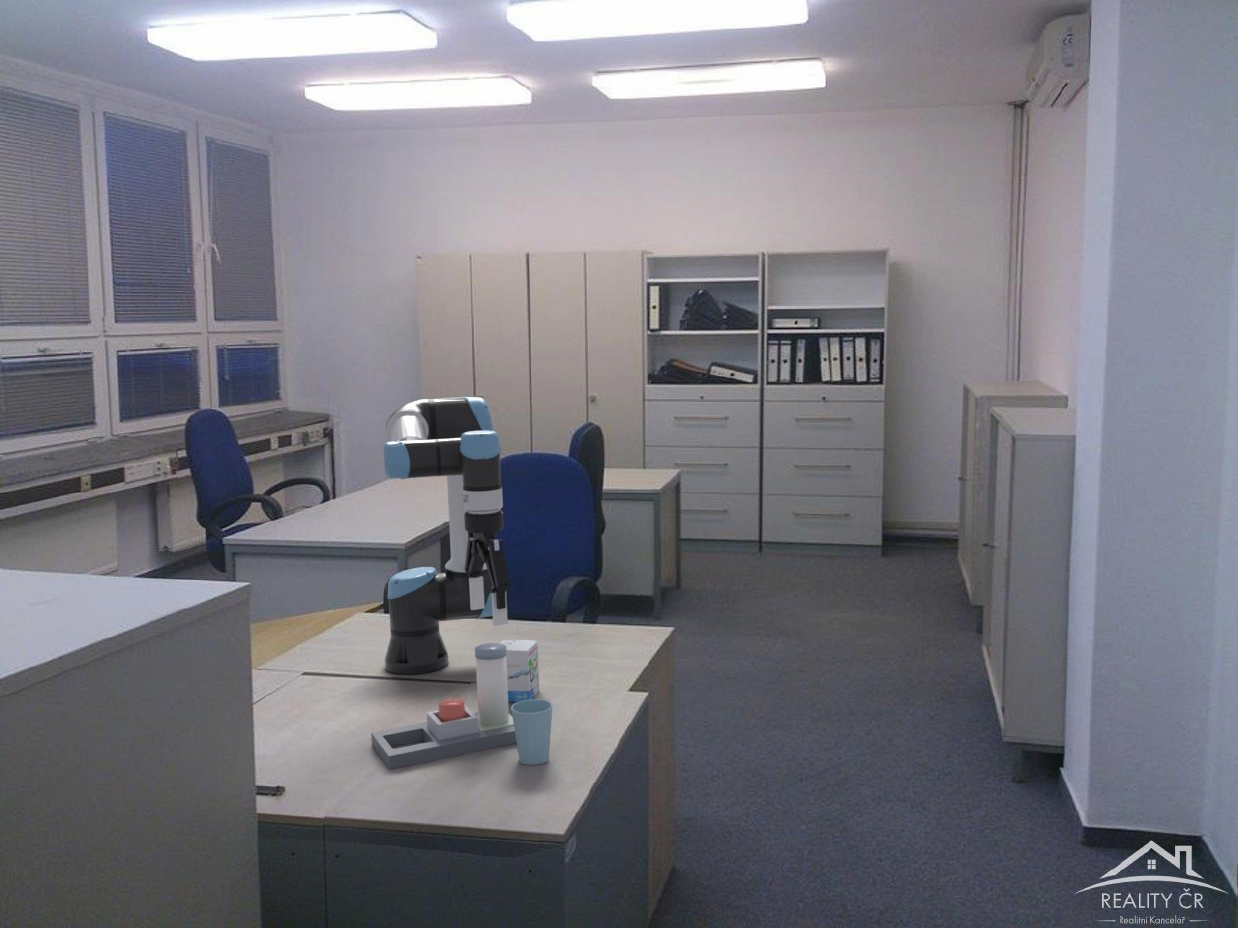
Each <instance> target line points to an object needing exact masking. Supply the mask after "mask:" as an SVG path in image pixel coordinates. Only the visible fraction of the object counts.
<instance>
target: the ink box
mask: <svg viewBox="0 0 1238 928" xmlns="http://www.w3.org/2000/svg"><path fill="white" fill-rule="evenodd" d="M498 643H500V644H504V645H506V652H507V655H506V663H507V686H508V703H509V702H512V703H513V702H514V703H517V702H520V701H524V700H531V699H534V697H535V696H536V695H537V694H538V692H540V675H539V673H540V672H539V651H538V649H539V647H538V640H531V639H530V640H529V639H501V641H499V642H498Z"/></svg>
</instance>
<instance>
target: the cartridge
mask: <svg viewBox="0 0 1238 928" xmlns="http://www.w3.org/2000/svg"><path fill="white" fill-rule="evenodd" d="M506 655H507V652H506V645H504V644H500V643H499V642H489V643H482V644H478V645H477V646H475V647H474V657H475V671H476V672H475V673H476V690H477V712H478V715H479V723H480V724H482V725H485V726H497V725H502V724H505V723H507V722H508V721H509V714H510V711H509V702H508V686H507V663H506Z"/></svg>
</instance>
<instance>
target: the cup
mask: <svg viewBox="0 0 1238 928" xmlns="http://www.w3.org/2000/svg"><path fill="white" fill-rule="evenodd" d="M510 709H511V716H512V717H513V723H514V729H515V736H516V742H517V743H516V746H517V753H518V758H519V759H518V760H519V762H520V763H521V764H524V765H526V766H527V765H528V766H537V765H542V764H545V763H546V762H548V761H549V759H550V747H551V732H552V731H551V730H552V716H553V703H552V702H550V701H549V700H545V699H539V698H538V699H536V698H535V699H534V698H532V699H531V700H524V701H520V702H514V703H513V704H512V705H511V707H510Z"/></svg>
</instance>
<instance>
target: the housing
mask: <svg viewBox="0 0 1238 928" xmlns="http://www.w3.org/2000/svg"><path fill="white" fill-rule="evenodd" d="M370 736H371V746H372V747H373V748H374V750H375V751H376V752H377V753H378V756H380V758H381V760H382V761H383V762H384V763H385V764H386V766H387V767H388V769H389V770H392V769H398V768H401V767H407V766H412V765H417V764H422V763H425V762H430V761H435V760H441V759H446V758H451V757H455V756H459V755H460V756H461V755H464V754H470V753H474V752H480V751H485V750H490V749H495V748H499V747H503V746H508V745H513V744H517V742H516V736H515V729H514V723H513V717H512V714H510V713H509V721H508V722H507V723H505V724H502V725H497V726H485V725H482V724H480V723H479V715H478V711H477V712H473V711H472V710H471V709H470V708H469V707H468V706H467V705H465V718H463V719H457V720H452V721H447V722H441V721H440V719H439V709H438V710H434V711H427V712H426V722H425V721H424V722H420V723H418V722H417V723H415V724H414V723H413V724H409V725H403V726H398V727H393V728H387V729H382V730H378V731H371V734H370ZM421 741H423V742H422V743H418V744H414V745H412V743H416V742H421ZM406 744H411V745H407V746H402V747H398V746H400V745H406ZM395 746H397V748H392V747H395Z"/></svg>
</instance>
